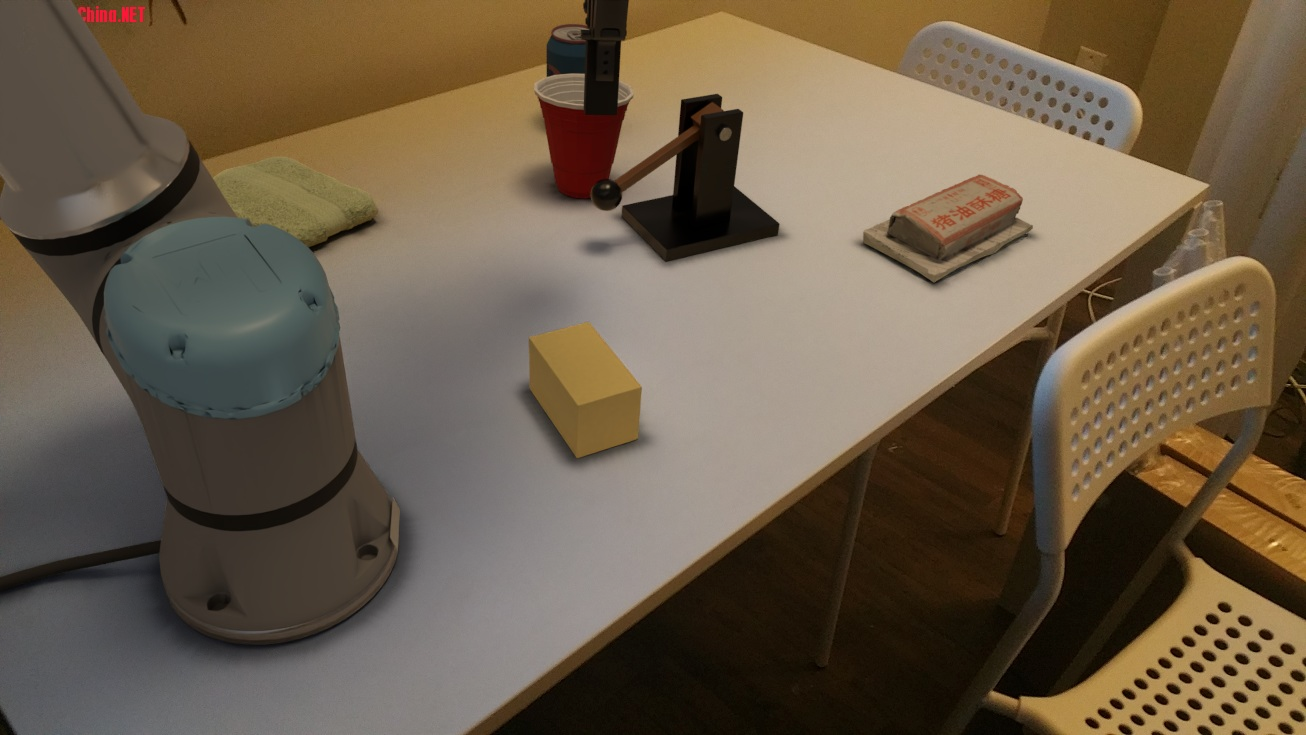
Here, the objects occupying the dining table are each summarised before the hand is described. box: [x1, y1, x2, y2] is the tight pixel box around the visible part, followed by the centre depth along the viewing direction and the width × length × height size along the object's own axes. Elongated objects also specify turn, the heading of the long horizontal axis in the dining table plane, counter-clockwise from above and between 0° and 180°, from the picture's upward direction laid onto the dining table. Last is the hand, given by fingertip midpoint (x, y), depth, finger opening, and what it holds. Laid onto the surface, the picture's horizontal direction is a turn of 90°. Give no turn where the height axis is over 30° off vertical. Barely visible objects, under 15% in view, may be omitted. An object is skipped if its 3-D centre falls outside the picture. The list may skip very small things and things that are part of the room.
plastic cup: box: [533, 73, 635, 199], centre depth 109 cm, size 11×11×12 cm
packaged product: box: [862, 174, 1034, 283], centre depth 107 cm, size 18×5×10 cm
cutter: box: [621, 93, 781, 262], centre depth 103 cm, size 14×10×14 cm
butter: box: [528, 321, 643, 459], centre depth 80 cm, size 6×10×6 cm, turn 29°
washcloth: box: [212, 155, 379, 248], centre depth 103 cm, size 13×18×3 cm
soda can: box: [546, 23, 589, 77], centre depth 122 cm, size 7×7×12 cm
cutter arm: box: [590, 102, 725, 212], centre depth 99 cm, size 16×3×3 cm, turn 119°
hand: (600, 111), depth 84 cm, fingers closed
